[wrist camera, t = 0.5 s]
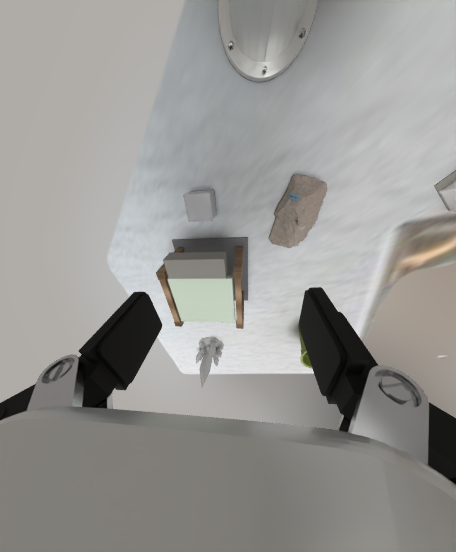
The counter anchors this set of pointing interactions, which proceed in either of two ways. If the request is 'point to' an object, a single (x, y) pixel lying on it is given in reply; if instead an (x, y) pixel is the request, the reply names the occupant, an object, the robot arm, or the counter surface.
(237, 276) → the frame
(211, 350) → the crystal
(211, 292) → the trapdoor
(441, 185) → the skyscraper
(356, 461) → the robot arm
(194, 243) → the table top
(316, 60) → the counter surface
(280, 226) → the concrete fragment
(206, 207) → the stone block
